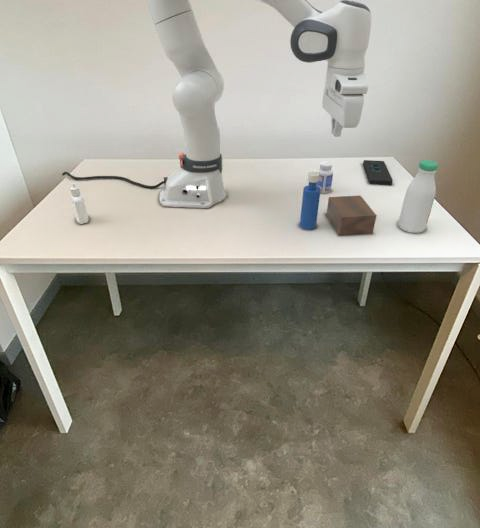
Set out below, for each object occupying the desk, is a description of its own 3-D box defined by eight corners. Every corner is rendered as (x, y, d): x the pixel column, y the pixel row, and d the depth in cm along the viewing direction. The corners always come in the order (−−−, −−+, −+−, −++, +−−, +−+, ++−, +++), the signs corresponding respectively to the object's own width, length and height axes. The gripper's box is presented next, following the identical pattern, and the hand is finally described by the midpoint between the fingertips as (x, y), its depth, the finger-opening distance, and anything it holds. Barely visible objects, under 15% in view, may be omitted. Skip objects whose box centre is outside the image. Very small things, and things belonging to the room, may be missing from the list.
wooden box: (339, 235, 116) (342, 217, 113) (326, 214, 127) (328, 196, 124) (372, 233, 117) (376, 215, 114) (357, 212, 128) (360, 195, 124)
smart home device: (384, 160, 160) (393, 180, 144) (383, 164, 161) (392, 185, 145) (362, 159, 161) (369, 179, 145) (362, 163, 162) (368, 184, 146)
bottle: (307, 236, 120) (277, 203, 113) (303, 228, 124) (274, 195, 117) (346, 208, 116) (317, 172, 109) (340, 201, 120) (312, 165, 113)
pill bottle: (330, 187, 144) (333, 160, 138) (331, 193, 139) (335, 166, 134) (314, 186, 144) (317, 160, 138) (315, 193, 140) (318, 166, 134)
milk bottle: (421, 236, 116) (441, 170, 105) (394, 229, 120) (411, 164, 108) (427, 225, 122) (447, 160, 110) (401, 218, 125) (417, 155, 113)
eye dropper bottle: (72, 224, 122) (62, 187, 115) (79, 215, 126) (69, 179, 119) (86, 224, 121) (77, 187, 115) (93, 215, 126) (84, 179, 119)
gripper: (320, 71, 108) (314, 123, 116) (344, 88, 92) (335, 148, 100) (343, 71, 109) (335, 123, 117) (371, 87, 92) (360, 147, 100)
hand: (335, 134), depth 108 cm, fingers closed
